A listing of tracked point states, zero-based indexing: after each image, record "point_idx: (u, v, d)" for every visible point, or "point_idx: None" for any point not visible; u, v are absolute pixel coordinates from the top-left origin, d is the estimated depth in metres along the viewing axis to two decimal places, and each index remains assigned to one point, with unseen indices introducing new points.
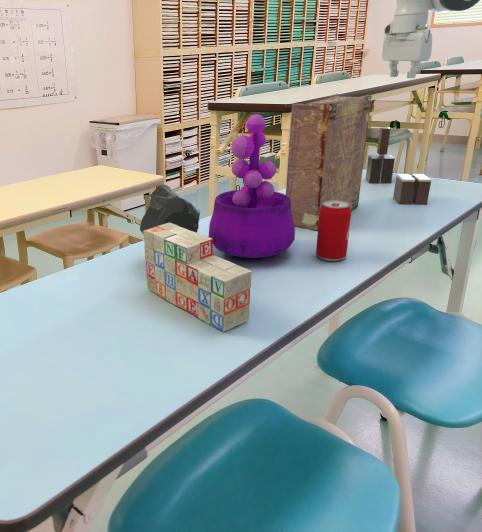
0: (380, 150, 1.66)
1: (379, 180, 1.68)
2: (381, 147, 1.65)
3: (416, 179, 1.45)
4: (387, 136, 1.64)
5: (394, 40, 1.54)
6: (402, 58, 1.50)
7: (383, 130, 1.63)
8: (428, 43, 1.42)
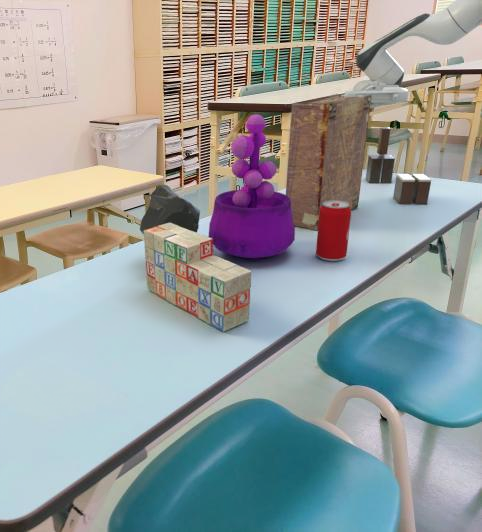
0: (380, 150, 1.66)
1: (379, 180, 1.68)
2: (381, 147, 1.65)
3: (416, 179, 1.45)
4: (387, 136, 1.64)
5: None
6: None
7: (383, 130, 1.63)
8: (344, 95, 1.82)
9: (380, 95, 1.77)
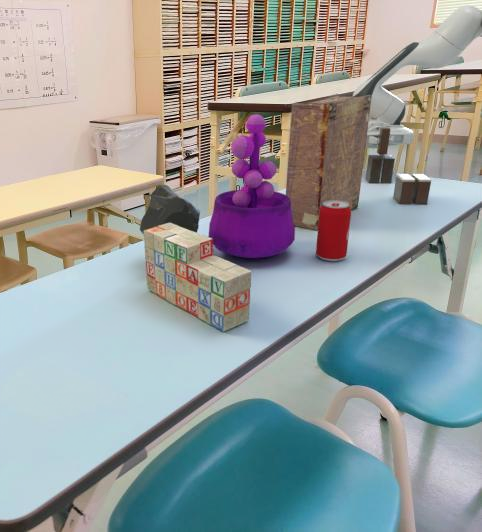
0: (380, 150, 1.66)
1: (379, 180, 1.68)
2: (381, 147, 1.65)
3: (416, 179, 1.45)
4: (387, 136, 1.64)
5: None
6: (373, 144, 1.71)
7: (383, 130, 1.63)
8: None
9: None
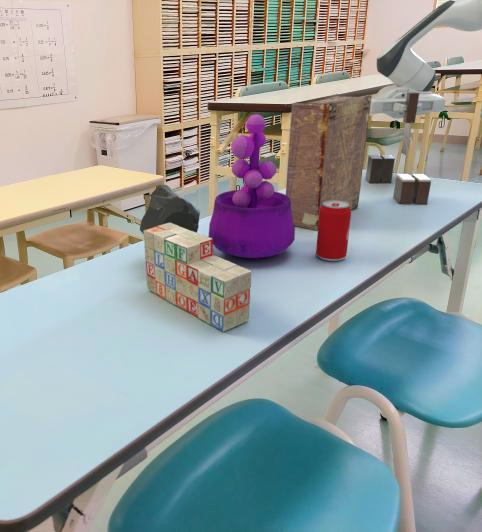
0: (407, 118, 1.47)
1: (405, 152, 1.49)
2: (408, 115, 1.46)
3: (416, 179, 1.45)
4: (415, 102, 1.45)
5: None
6: (398, 112, 1.52)
7: (411, 95, 1.44)
8: None
9: None
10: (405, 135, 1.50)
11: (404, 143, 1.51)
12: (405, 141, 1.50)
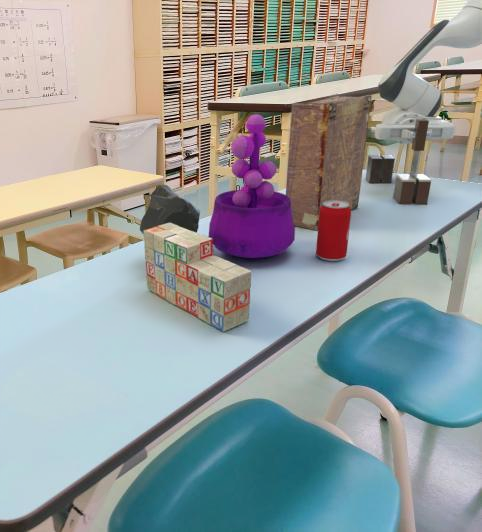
0: (416, 146, 1.41)
1: None
2: (417, 143, 1.41)
3: (416, 179, 1.45)
4: (425, 129, 1.39)
5: None
6: (406, 139, 1.47)
7: (420, 122, 1.39)
8: (375, 129, 1.51)
9: None
10: (413, 163, 1.45)
11: (412, 171, 1.46)
12: (414, 169, 1.45)
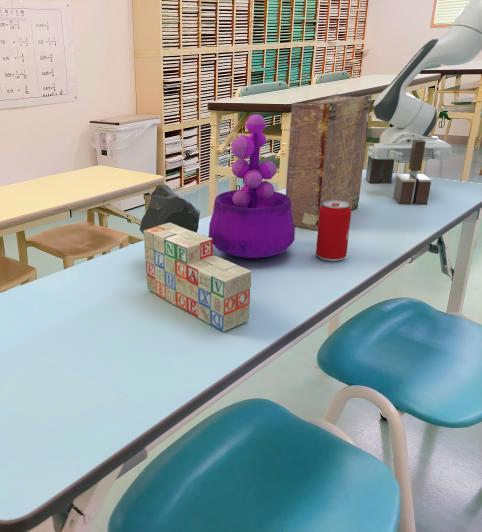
0: (413, 166, 1.43)
1: None
2: (414, 163, 1.43)
3: None
4: (421, 150, 1.41)
5: None
6: (404, 159, 1.49)
7: (417, 143, 1.41)
8: (373, 148, 1.53)
9: None
10: None
11: None
12: None
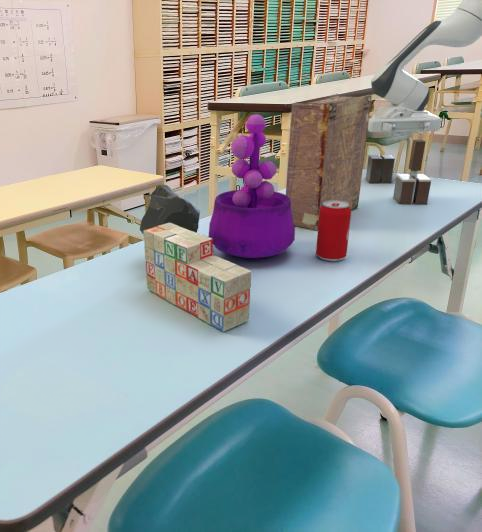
0: (413, 166, 1.43)
1: None
2: (414, 163, 1.43)
3: None
4: (421, 150, 1.41)
5: None
6: (397, 131, 1.59)
7: (417, 143, 1.41)
8: (368, 122, 1.63)
9: (409, 123, 1.58)
10: None
11: None
12: None
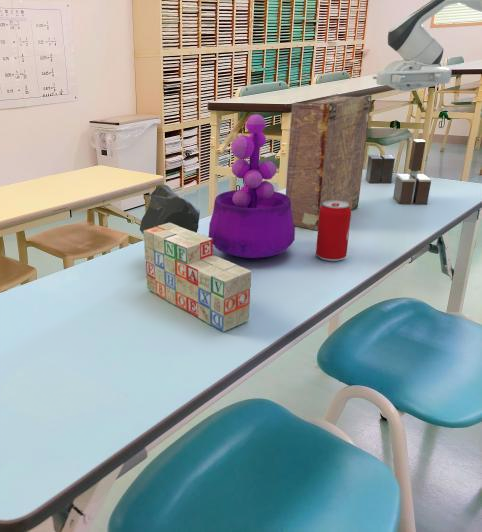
0: (413, 166, 1.43)
1: None
2: (414, 163, 1.43)
3: None
4: (421, 150, 1.41)
5: None
6: (406, 84, 1.57)
7: (417, 143, 1.41)
8: (377, 76, 1.61)
9: (419, 75, 1.55)
10: None
11: None
12: None
